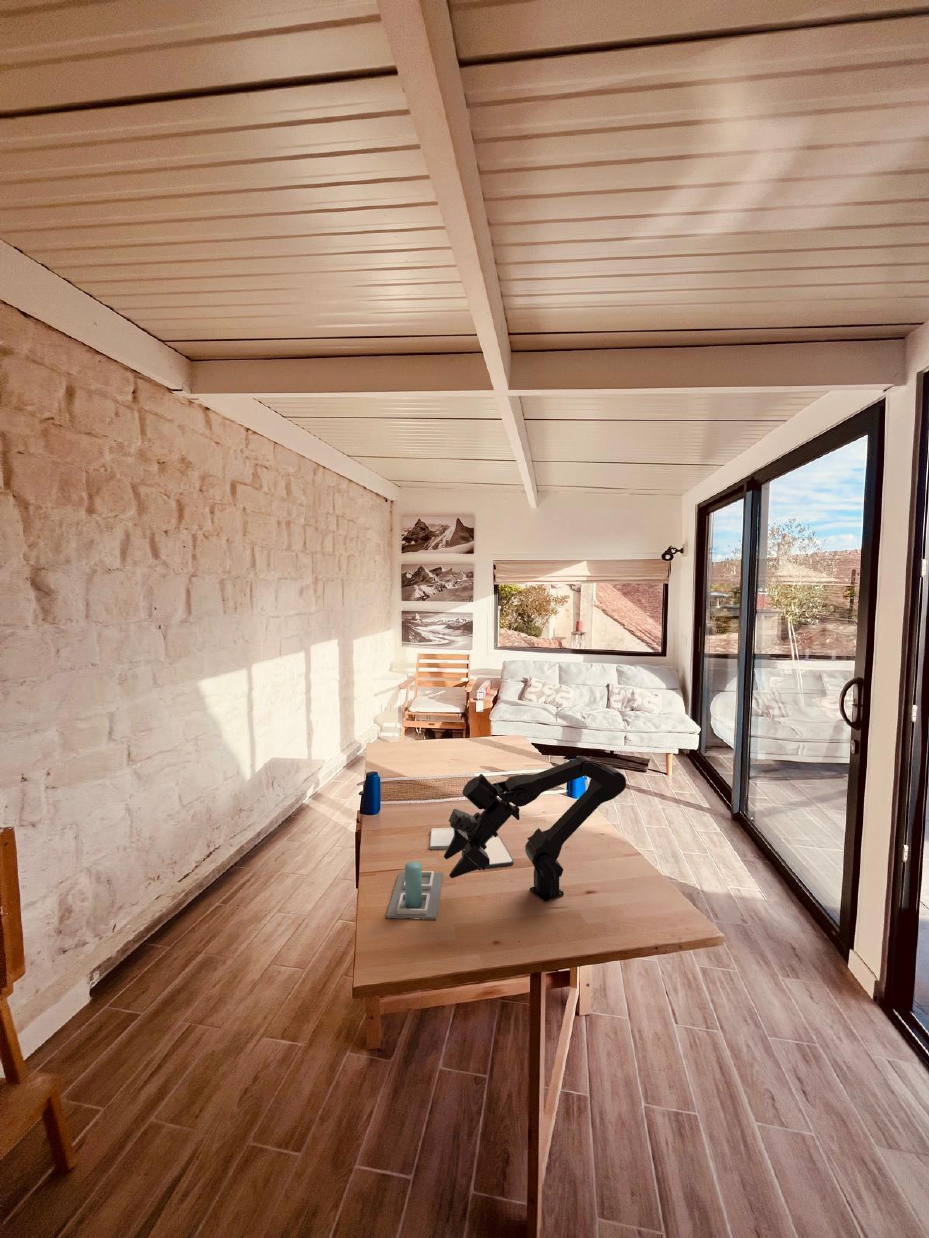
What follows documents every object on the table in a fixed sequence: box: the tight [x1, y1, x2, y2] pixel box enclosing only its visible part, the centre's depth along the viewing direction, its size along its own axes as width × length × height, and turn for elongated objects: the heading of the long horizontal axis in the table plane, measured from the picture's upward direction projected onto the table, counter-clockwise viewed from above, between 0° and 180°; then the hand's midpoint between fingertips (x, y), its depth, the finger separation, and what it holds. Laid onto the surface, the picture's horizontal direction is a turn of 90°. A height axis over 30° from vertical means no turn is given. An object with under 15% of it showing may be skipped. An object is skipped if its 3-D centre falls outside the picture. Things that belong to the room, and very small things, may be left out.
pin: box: [404, 861, 423, 909], centre depth 137 cm, size 4×4×10 cm
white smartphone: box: [484, 836, 515, 869], centre depth 164 cm, size 9×2×16 cm
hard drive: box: [429, 827, 454, 850], centre depth 173 cm, size 2×8×12 cm
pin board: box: [385, 870, 444, 920], centre depth 143 cm, size 20×12×2 cm, turn 178°
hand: (447, 867), depth 138 cm, fingers open, 9 cm apart
